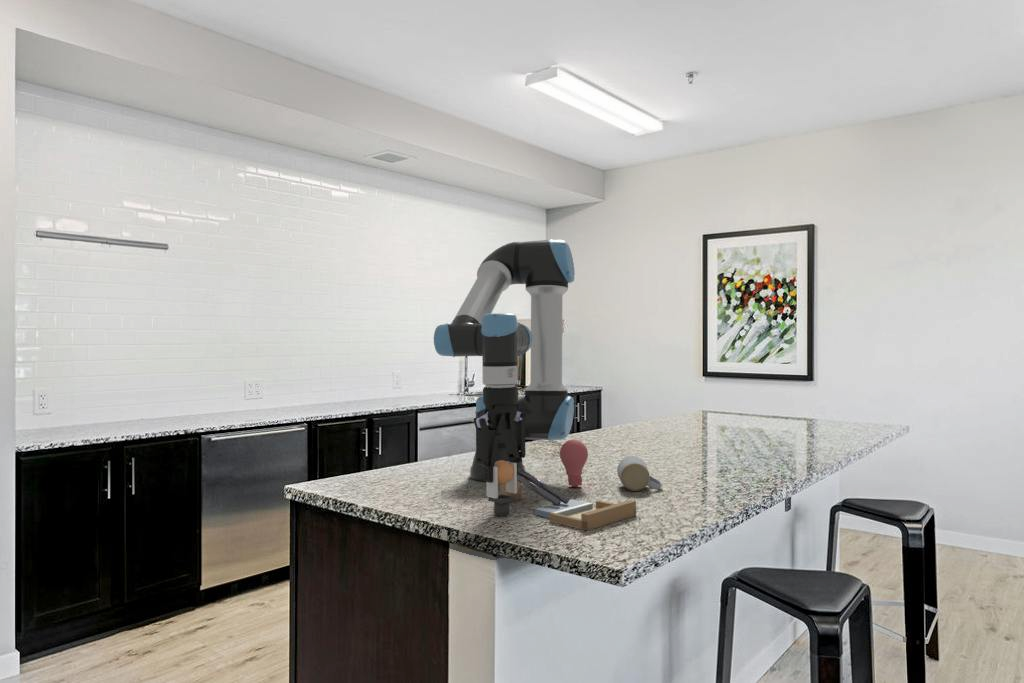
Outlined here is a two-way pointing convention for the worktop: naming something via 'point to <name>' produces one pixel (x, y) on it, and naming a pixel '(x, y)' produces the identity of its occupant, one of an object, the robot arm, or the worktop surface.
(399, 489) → the worktop surface
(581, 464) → the light bulb
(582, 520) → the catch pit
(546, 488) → the ramp
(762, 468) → the worktop surface
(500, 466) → the ball
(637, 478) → the ceramic mug
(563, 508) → the block
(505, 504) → the tee
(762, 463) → the worktop surface
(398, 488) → the worktop surface
